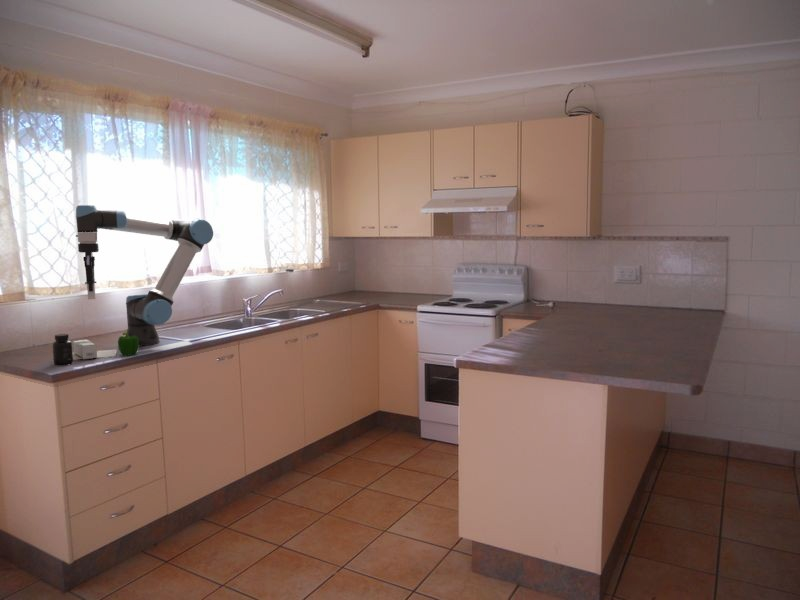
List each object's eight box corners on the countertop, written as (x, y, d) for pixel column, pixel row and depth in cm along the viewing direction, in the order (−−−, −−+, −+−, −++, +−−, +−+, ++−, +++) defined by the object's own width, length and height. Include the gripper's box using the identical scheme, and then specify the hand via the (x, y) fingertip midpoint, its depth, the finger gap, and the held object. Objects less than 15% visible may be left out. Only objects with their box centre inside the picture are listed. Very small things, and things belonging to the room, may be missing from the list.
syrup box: (97, 357, 251) (87, 352, 262) (97, 343, 251) (86, 339, 261) (82, 359, 247) (72, 354, 258) (82, 345, 247) (72, 340, 257)
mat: (117, 350, 268) (117, 349, 268) (115, 357, 254) (115, 356, 254) (71, 353, 261) (71, 352, 261) (67, 360, 247) (66, 359, 247)
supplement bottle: (49, 365, 239) (47, 335, 238) (64, 361, 246) (62, 332, 244) (62, 366, 237) (60, 336, 235) (77, 363, 243) (75, 333, 242)
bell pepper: (132, 351, 265) (130, 329, 263) (143, 354, 260) (141, 331, 259) (113, 355, 258) (112, 332, 256) (124, 357, 253) (123, 334, 252)
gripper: (79, 242, 255) (83, 297, 258) (76, 243, 243) (80, 301, 246) (99, 242, 258) (102, 296, 261) (96, 243, 246) (100, 300, 249)
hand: (91, 298), depth 254 cm, fingers closed
